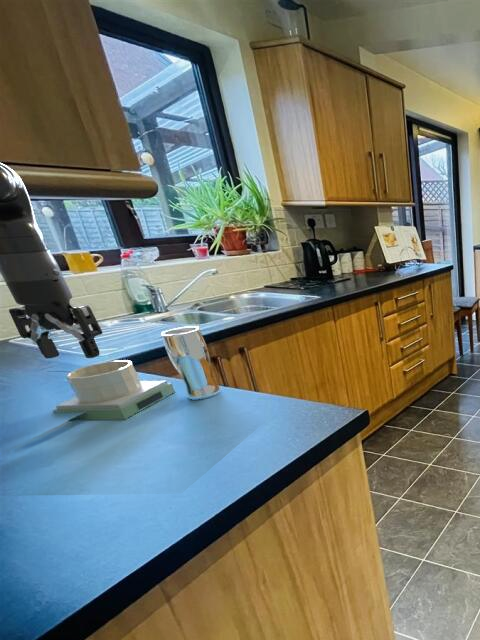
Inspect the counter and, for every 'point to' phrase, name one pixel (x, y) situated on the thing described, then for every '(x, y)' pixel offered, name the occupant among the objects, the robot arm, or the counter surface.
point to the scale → (118, 403)
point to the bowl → (104, 381)
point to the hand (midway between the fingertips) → (73, 357)
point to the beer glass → (191, 361)
